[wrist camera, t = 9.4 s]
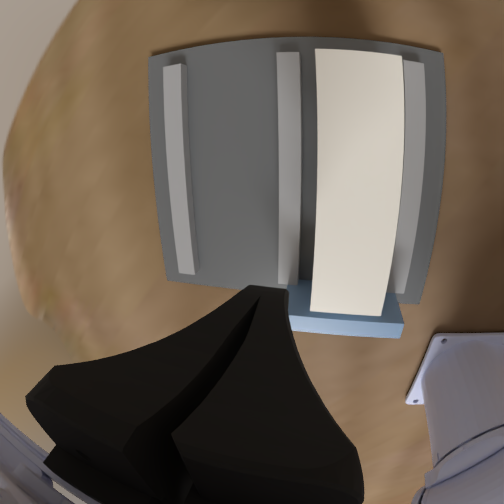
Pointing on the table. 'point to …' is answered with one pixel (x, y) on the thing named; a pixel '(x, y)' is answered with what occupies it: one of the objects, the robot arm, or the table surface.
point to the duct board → (280, 170)
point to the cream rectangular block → (357, 178)
